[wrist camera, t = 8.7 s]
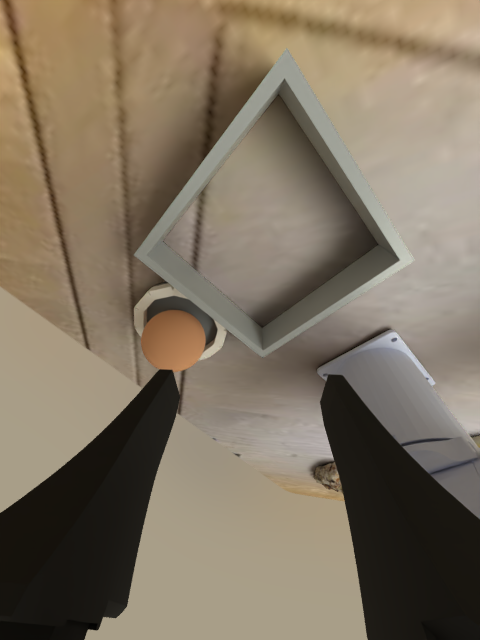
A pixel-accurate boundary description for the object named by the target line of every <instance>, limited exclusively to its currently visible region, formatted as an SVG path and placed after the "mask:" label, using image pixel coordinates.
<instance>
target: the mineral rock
mask: <svg viewBox="0 0 480 640" xmlns="http://www.w3.org/2000/svg"><path fill="white" fill-rule="evenodd" d="M314 477H315V478H314V479H315V480H316V482H317V483H320V484H322V485H324V486H325V487H326V488H328V489H334V490H335V491H337V492H338V491H340V492H342V493H343V490H342V486H341V482H340V478H339V475H338V471H337V468H336V464H335V462H333V463H329V464H327V465H325V466H318V467H317V468H316V471H315V476H314Z"/></svg>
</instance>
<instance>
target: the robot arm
mask: <svg viewBox="0 0 480 640" xmlns="http://www.w3.org/2000/svg"><path fill="white" fill-rule="evenodd" d="M392 338H394V339H392ZM317 373H318V375H319V376H321V377H322V378H323V379H324V380H325V381H326V384H325V387H324V391H323V394H322V398H321V401H320V404H321V410H322V416H323V422H324V426H325V430H326V433H327V437H328V440H329V444H330V447H331V451H332V454H333V457H334V461H335V464H336V468H337V471H338V475H339V478H340V482H341V486H342V490H343V495H344V500H345V505H346V510H347V514H348V520H349V525H350V531H351V536H352V542H353V547H354V553H355V559H356V564H357V571H358V577H359V584H360V590H361V597H362V604H363V611H364V618H365V625H366V633H367V638H368V640H480V448H479V447H478V446H477V444H476V443H475V442H474V440H473V439H472V438H471V437H470V435H469V434H468V433H467V431H466V430H465V429H464V427H463V426H462V425H461V423H460V422H459V421H458V420H457V418H456V417H455V416H454V414H453V413H452V412H451V410H450V409H449V408H448V407H447V405H446V404H445V403H444V401H443V400H442V399H441V397H440V396H439V395H438V393H437V392H436V391H435V390H434V388H433V387H432V386H433V385H434V384H435V381H434V380H433V379H432V377H431V376H430V375H429V374H428V372H427V371H426V370H425V368H424V367H423V366H422V364H421V363H420V362H419V361H418V359H417V358H416V357H415V355H414V354H413V353H412V352H411V350H410V349H409V348H408V346H407V345H406V344H405V343H404V341H403V340H402V339H401V337H400V336H399V335H398V334H397V332H396V331H395V330H388V331H386V332H384V333H382V334H380V335H378V336H377V337H375V338H373V339H371V340H369V341H367V342H365V343H364V344H362V345H360V346H358V347H356V348H354V349H352V350H351V351H349V352H347V353H345V354H343V355H341V356H339V357H338V358H336V359H334V360H332V361H330V362H328V363H326V364H325V365H323V366H321V367H319V368H318V369H317ZM325 373H326V374H325ZM179 399H180V395H179V391H178V388H177V384H176V381H175V377H174V373H173V370H168V369H160V370H159V371H158V372H157V373H156V374H155V375H154V376H153V377H152V379H151V380H150V381H149V382H148V383H147V384H146V386H145V387H144V388H143V389H142V390H141V391H140V393H139V394H138V395H137V396H136V397H135V398H134V399H133V400H132V401H131V402H130V403H129V405H128V406H127V407H126V408H125V409H124V410H123V411H122V412H121V413H120V414H119V415H118V416H117V417H116V418H115V419H114V420H113V421H112V422H111V423H110V424H109V425H108V426H107V427H106V428H105V429H104V430H103V431H102V432H101V433H100V434H99V435H98V436H97V437H96V438H95V439H94V440H93V441H92V442H90V443H89V444H88V445H87V446H86V447H85V448H84V449H83V450H81V451H80V452H79V453H78V454H77V455H76V456H74V457H73V458H72V459H71V460H70V461H69V462H67V463H66V464H65V465H64V466H62V467H61V468H60V469H59V470H58V471H56V472H55V473H54V474H53V475H51V476H50V477H49V478H47V479H46V480H45V481H43V482H42V483H41V484H40V485H38V486H37V487H36V488H34V489H33V490H32V491H30V492H29V493H27V494H26V495H25V496H24V497H22V498H21V499H20V500H18V501H17V502H15V503H14V504H13V505H11V506H10V507H8V508H7V509H6V510H4V511H3V512H1V513H0V640H84V639H85V636H86V633H87V630H88V629H90V630H98V629H99V627H100V624H101V621H102V618H103V617H109V618H117V617H118V616H119V615H120V614H121V613H122V612H123V611H124V609H125V608H126V607H127V604H128V598H129V593H130V587H131V582H132V577H133V572H134V567H135V562H136V557H137V552H138V547H139V543H140V538H141V534H142V529H143V525H144V520H145V516H146V512H147V508H148V504H149V500H150V496H151V492H152V488H153V484H154V480H155V476H156V473H157V470H158V467H159V464H160V461H161V458H162V455H163V452H164V450H165V446H166V444H167V441H168V438H169V435H170V432H171V429H172V426H173V423H174V420H175V417H176V413H177V409H178V404H179Z"/></svg>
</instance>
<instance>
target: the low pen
mask: <svg viewBox="0 0 480 640" xmlns="http://www.w3.org/2000/svg"><path fill="white" fill-rule="evenodd" d="M278 94H279V95H280V96H281V98H282V99H283V101H284V102H285V104H286V105H287V107H288V108H289V110H290V111H291V113H292V115H293V116H294V118H295V119H296V121H297V122H298V124H299V125H300V127H301V128H302V130H303V131H304V133H305V134H306V136H307V137H308V139H309V140H310V142H311V143H312V145H313V146H314V148H315V149H316V151H317V152H318V154H319V155H320V157H321V158H322V160H323V161H324V163H325V164H326V166H327V167H328V169H329V170H330V172H331V174H332V175H333V177H334V178H335V180H336V181H337V183H338V184H339V186H340V187H341V189H342V190H343V192H344V193H345V195H346V196H347V198H348V199H349V201H350V202H351V204H352V205H353V207H354V208H355V210H356V211H357V213H358V214H359V216H360V217H361V219H362V220H363V222H364V223H365V225H366V226H367V228H368V229H369V231H370V233H371V234H372V236H373V237H374V239H375V240H376V242H377V243H378V245H377V246H376V247H374V248H373V249H372V250H370V251H369V252H368V253H366V254H365V255H363V256H362V257H361V258H359V259H358V260H356V261H355V262H354V263H352V264H351V265H349V266H348V267H347V268H345V269H344V270H342V271H341V272H340V273H338V274H337V275H335V276H334V277H333V278H331V279H330V280H329V281H327V282H326V283H324V284H323V285H322V286H320V287H319V288H317V289H316V290H315V291H313V292H312V293H310V294H309V295H308V296H306V297H305V298H303V299H302V300H301V301H299V302H298V303H296V304H295V305H294V306H292V307H291V308H290V309H288V310H287V311H285V312H284V313H283V314H281V315H280V316H278V317H277V318H276V319H274V320H273V321H271V322H270V323H269V324H267V325H266V326H264V327H263V328H261V327H260V326H259V325H258V324H257V323H256V322H255V321H253V320H252V319H251V318H250V317H249V316H248V315H247V314H245V313H244V312H243V311H242V310H241V309H240V308H239V307H237V306H236V305H235V304H234V303H233V302H232V301H230V300H229V299H228V298H227V297H226V296H225V295H224V294H222V293H221V292H220V291H219V290H218V289H217V288H216V287H214V286H213V285H212V284H211V283H210V282H209V281H208V280H206V279H205V278H204V277H203V276H202V275H201V274H200V273H198V272H197V271H196V270H195V269H194V268H193V267H192V266H190V265H189V264H188V263H187V262H186V261H185V260H183V259H182V258H181V257H180V256H179V255H178V254H177V253H175V252H174V251H173V250H172V249H171V248H170V247H169V246H167V245H166V244H165V243H164V242H163V240H164V238H165V237H166V236H167V234H168V233H169V232H170V231H171V229H172V228H173V227H174V226H175V224H176V223H177V222H178V221H179V219H180V218H181V217H182V215H183V214H184V213H185V212H186V210H187V209H188V208H189V207H190V205H191V204H192V203H193V202H194V200H195V199H196V198H197V196H198V195H199V194H200V193H201V191H202V190H203V189H204V188H205V186H206V185H207V184H208V183H209V181H210V180H211V179H212V177H213V176H214V175H215V174H216V172H217V171H218V170H219V169H220V167H221V166H222V165H223V164H224V162H225V161H226V160H227V158H228V157H229V156H230V155H231V153H232V152H233V151H234V150H235V148H236V147H237V146H238V145H239V143H240V142H241V141H242V139H243V138H244V137H245V136H246V134H247V133H248V132H249V131H250V129H251V128H252V127H253V126H254V124H255V123H256V122H257V120H258V119H259V118H260V117H261V115H262V114H263V113H264V112H265V110H266V109H267V108H268V107H269V105H270V104H271V103H272V101H273V100H274V99H275V98H276V96H277V95H278ZM134 256H135V257H137V258H138V259H139V260H140V261H142V262H143V263H144V264H145V265H147V266H148V267H149V268H150V269H152V270H153V271H154V272H155V273H157V274H158V275H159V276H160V277H162V278H163V279H164V280H165V281H167V282H168V283H169V284H170V285H172V286H173V287H174V288H175V289H177V290H178V291H179V292H180V293H182V294H183V295H184V296H185V297H187V298H188V299H189V300H190V301H192V302H193V303H194V304H195V305H197V306H198V307H199V308H200V309H202V310H203V311H204V312H205V313H207V314H208V315H209V316H210V317H212V318H213V319H214V320H215V321H217V322H218V323H219V324H220V325H222V326H223V327H224V328H225V329H227V330H228V331H229V332H230V333H232V334H233V335H234V336H235V337H237V338H238V339H239V340H240V341H242V342H243V343H244V344H245V345H247V346H248V347H249V348H250V349H252V350H253V351H254V352H255V353H257V354H258V355H259V356H260V357H262V358H263V357H265V356H266V355H268V354H270V353H271V352H273V351H274V350H276V349H277V348H279V347H281V346H282V345H284V344H285V343H287V342H288V341H290V340H291V339H293V338H295V337H296V336H298V335H299V334H301V333H302V332H304V331H306V330H307V329H309V328H310V327H312V326H313V325H315V324H316V323H318V322H320V321H321V320H323V319H324V318H326V317H327V316H329V315H331V314H332V313H334V312H335V311H337V310H338V309H340V308H341V307H343V306H345V305H346V304H348V303H349V302H351V301H352V300H354V299H356V298H357V297H359V296H360V295H362V294H363V293H365V292H366V291H368V290H370V289H371V288H373V287H374V286H376V285H377V284H379V283H381V282H382V281H384V280H385V279H387V278H388V277H390V276H391V275H393V274H395V273H396V272H398V271H399V270H401V269H402V268H404V267H405V266H407V265H409V264H410V263H412V262H413V261H415V260H414V259H413V257H412V255H411V254H410V252H409V250H408V249H407V247H406V245H405V244H404V242H403V240H402V239H401V237H400V235H399V234H398V232H397V230H396V229H395V227H394V225H393V224H392V222H391V220H390V219H389V217H388V215H387V214H386V212H385V210H384V209H383V207H382V205H381V204H380V202H379V200H378V199H377V197H376V195H375V194H374V192H373V190H372V189H371V187H370V185H369V184H368V182H367V180H366V179H365V177H364V175H363V174H362V172H361V170H360V169H359V167H358V165H357V164H356V162H355V160H354V159H353V157H352V155H351V154H350V152H349V150H348V149H347V147H346V145H345V144H344V142H343V140H342V139H341V137H340V135H339V134H338V132H337V130H336V129H335V127H334V125H333V124H332V122H331V120H330V119H329V117H328V115H327V114H326V112H325V110H324V109H323V107H322V105H321V104H320V102H319V100H318V99H317V97H316V95H315V94H314V92H313V90H312V89H311V87H310V85H309V84H308V82H307V80H306V79H305V77H304V75H303V74H302V72H301V70H300V69H299V67H298V65H297V64H296V62H295V60H294V59H293V57H292V55H291V54H290V52H289V50H288V49H287V48H286V50H285V51H284V52H283V54H282V55H281V56H280V58H279V59H278V61H277V62H276V63H275V65H274V66H273V67H272V69H271V70H270V71H269V73H268V74H267V75H266V77H265V78H264V79H263V81H262V82H261V84H260V85H259V86H258V88H257V89H256V90H255V92H254V93H253V94H252V96H251V97H250V98H249V100H248V101H247V102H246V104H245V105H244V107H243V108H242V109H241V111H240V112H239V113H238V115H237V116H236V117H235V119H234V120H233V121H232V123H231V124H230V125H229V127H228V128H227V129H226V131H225V132H224V134H223V135H222V136H221V138H220V139H219V140H218V142H217V143H216V144H215V146H214V147H213V148H212V150H211V151H210V152H209V154H208V155H207V157H206V158H205V159H204V161H203V162H202V163H201V165H200V166H199V167H198V169H197V170H196V171H195V173H194V174H193V175H192V177H191V178H190V180H189V181H188V182H187V184H186V185H185V186H184V188H183V189H182V190H181V192H180V193H179V194H178V196H177V197H176V198H175V200H174V201H173V202H172V204H171V205H170V207H169V208H168V209H167V211H166V212H165V213H164V215H163V216H162V217H161V219H160V220H159V221H158V223H157V224H156V225H155V227H154V228H153V230H152V231H151V232H150V234H149V235H148V236H147V238H146V239H145V240H144V242H143V243H142V244H141V246H140V247H139V248H138V250H137V251H136V253H135V254H134Z"/></svg>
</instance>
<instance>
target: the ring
mask: <svg viewBox="0 0 480 640" xmlns="http://www.w3.org/2000/svg"><path fill="white" fill-rule="evenodd" d="M167 310H181V311H185V312H187V313H189V314H191V315H193V316H194V317H195V318H196V319H197V320H198V321H199V322H200V323H201V325H202V327H203V329H204V332H205V339H206V342H205V348H204V351H203V353H202V355H201V357H200V358H199V360H203V359H206V357H207V358H209V357H210V356H212V355H213V354H214V353H216V352H217V351H218V350H220V349H221V347H222V346H223V343H224V340H225V336H226V333H227V329H225V328H224V327H223V326H222V325H220V324H219V323H218V322H217V321H215V320H214V319H213V318H212V317H210V316H209V315H208V314H207V313H205V312H204V311H203V310H202V309H200V308H199V307H198V306H197V305H195V304H194V303H193V302H192V301H190V300H189V299H188V298H187V297H185V296H184V295H183V294H182V293H180V292H179V291H178V290H177V289H175V288H174V287H173V286H172V285H170V284H169V283H168V282H164V283H160V284H158V285H156V286H154V287H152V288H150V289H149V290H148V292H146V294H145V295H144V296H143V297H142V298H141V300H140V301H139V302H138V303H137V304H136V306H135V308H134V326H136V327H135V329H136V331H137V332H138V334H139V335H140V337H141V338H142V333H143V330H144V328H145V326H146V324H147V323H148V322H149V321H150V319H152V318H153V317H154V316H155V315H157V314H159V313H161V312H163V311H167Z"/></svg>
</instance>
